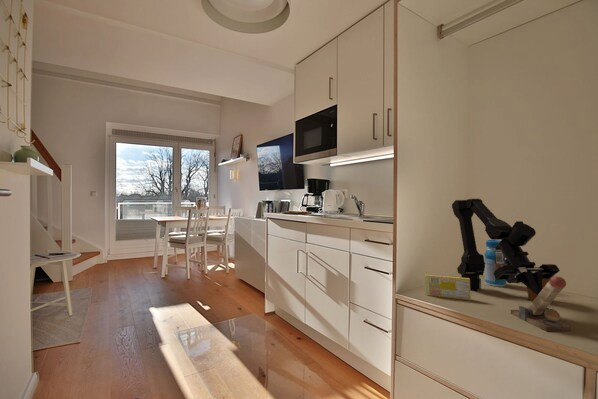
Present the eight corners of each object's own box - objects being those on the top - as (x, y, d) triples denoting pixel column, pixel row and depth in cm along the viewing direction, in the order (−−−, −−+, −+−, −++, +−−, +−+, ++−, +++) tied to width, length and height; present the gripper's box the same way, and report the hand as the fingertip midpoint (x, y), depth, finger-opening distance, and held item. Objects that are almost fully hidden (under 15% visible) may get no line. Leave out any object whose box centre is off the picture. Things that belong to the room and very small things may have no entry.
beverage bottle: (482, 284, 132) (481, 240, 132) (487, 280, 138) (486, 239, 138) (504, 288, 126) (503, 242, 126) (508, 284, 132) (508, 240, 132)
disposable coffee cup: (561, 305, 105) (561, 272, 105) (532, 303, 107) (531, 271, 107) (545, 296, 114) (544, 266, 114) (518, 295, 116) (517, 265, 116)
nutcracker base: (510, 313, 98) (509, 296, 98) (533, 313, 98) (532, 296, 98) (545, 331, 84) (545, 312, 84) (572, 330, 84) (572, 311, 84)
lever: (522, 308, 95) (549, 273, 85) (535, 308, 95) (563, 273, 85) (529, 318, 92) (558, 283, 82) (542, 318, 92) (573, 283, 82)
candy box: (470, 299, 113) (469, 277, 113) (470, 300, 111) (470, 279, 111) (425, 293, 120) (424, 273, 120) (425, 295, 118) (424, 275, 118)
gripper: (526, 265, 107) (553, 306, 96) (477, 266, 106) (498, 307, 96) (545, 248, 99) (577, 291, 88) (492, 249, 98) (517, 292, 88)
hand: (541, 296), depth 90 cm, fingers closed, pressing on lever
